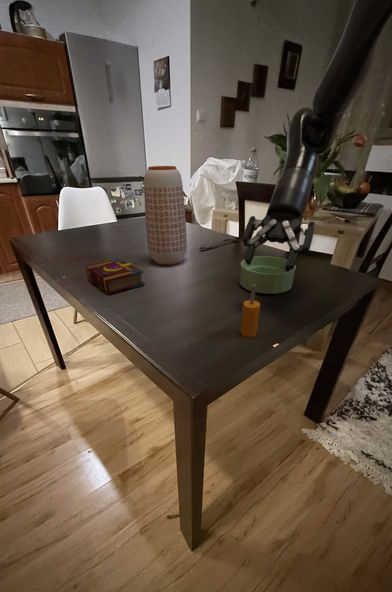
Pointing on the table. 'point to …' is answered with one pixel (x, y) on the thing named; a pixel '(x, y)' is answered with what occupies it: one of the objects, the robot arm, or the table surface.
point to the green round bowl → (266, 275)
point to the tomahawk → (220, 244)
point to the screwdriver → (250, 316)
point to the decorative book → (114, 275)
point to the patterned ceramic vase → (165, 215)
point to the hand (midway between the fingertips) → (267, 266)
